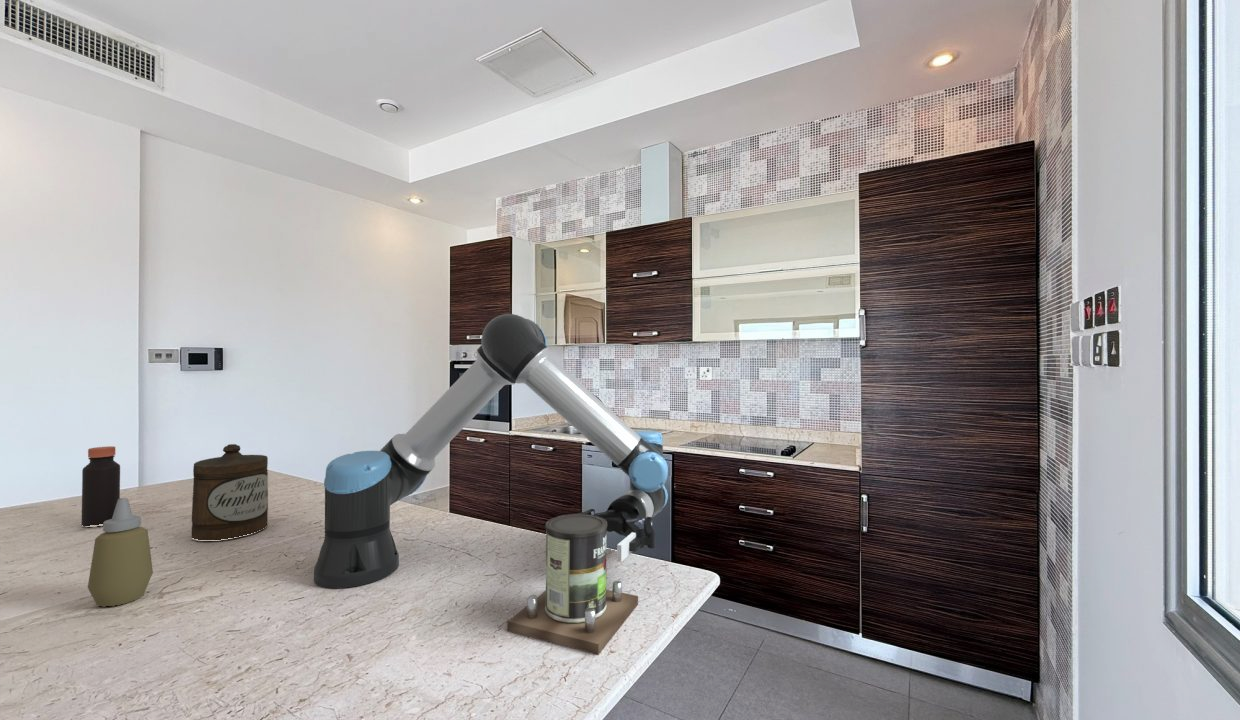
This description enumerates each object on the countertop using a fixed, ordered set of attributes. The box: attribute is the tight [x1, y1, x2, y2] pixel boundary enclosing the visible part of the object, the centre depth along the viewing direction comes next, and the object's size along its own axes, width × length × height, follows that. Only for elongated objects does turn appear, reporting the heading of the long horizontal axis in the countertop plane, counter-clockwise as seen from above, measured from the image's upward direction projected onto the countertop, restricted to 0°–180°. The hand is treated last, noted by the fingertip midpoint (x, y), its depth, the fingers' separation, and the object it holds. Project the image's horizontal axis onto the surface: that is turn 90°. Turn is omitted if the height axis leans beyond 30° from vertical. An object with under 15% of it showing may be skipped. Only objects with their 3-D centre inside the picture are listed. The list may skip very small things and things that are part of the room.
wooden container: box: [191, 443, 269, 540], centre depth 121 cm, size 15×15×22 cm
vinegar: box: [81, 446, 121, 526], centre depth 127 cm, size 7×7×20 cm
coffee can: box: [544, 513, 608, 623], centre depth 81 cm, size 10×10×14 cm
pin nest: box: [506, 579, 639, 655], centre depth 81 cm, size 16×16×4 cm
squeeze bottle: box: [87, 497, 154, 608], centre depth 86 cm, size 8×8×18 cm
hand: (582, 547), depth 82 cm, fingers open, 13 cm apart
